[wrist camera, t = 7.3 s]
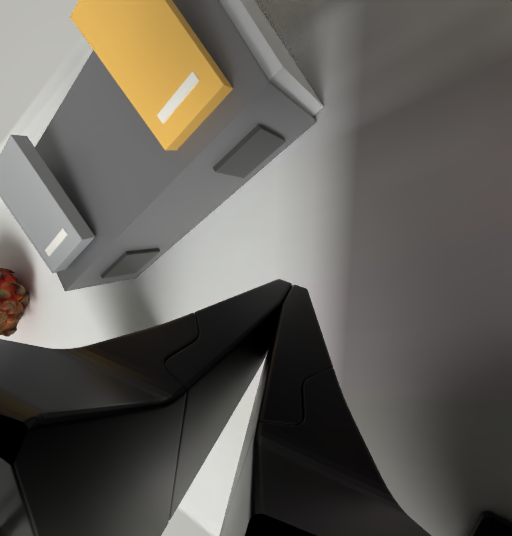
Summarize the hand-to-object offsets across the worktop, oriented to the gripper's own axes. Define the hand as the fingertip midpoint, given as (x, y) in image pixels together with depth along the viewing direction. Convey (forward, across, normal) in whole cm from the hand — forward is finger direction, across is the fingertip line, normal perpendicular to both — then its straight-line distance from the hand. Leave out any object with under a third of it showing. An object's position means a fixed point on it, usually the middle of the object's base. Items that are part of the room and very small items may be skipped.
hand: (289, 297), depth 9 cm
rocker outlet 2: (+9, +11, -5) cm, 15 cm away
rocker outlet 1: (+8, +18, +5) cm, 21 cm away
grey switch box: (+16, +13, +2) cm, 20 cm away
